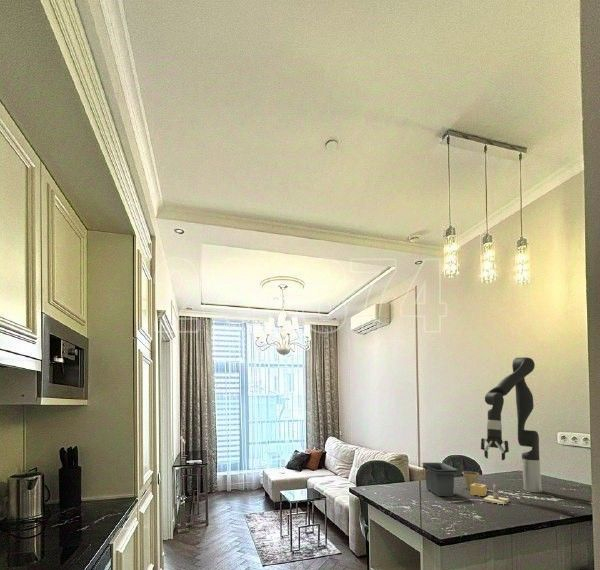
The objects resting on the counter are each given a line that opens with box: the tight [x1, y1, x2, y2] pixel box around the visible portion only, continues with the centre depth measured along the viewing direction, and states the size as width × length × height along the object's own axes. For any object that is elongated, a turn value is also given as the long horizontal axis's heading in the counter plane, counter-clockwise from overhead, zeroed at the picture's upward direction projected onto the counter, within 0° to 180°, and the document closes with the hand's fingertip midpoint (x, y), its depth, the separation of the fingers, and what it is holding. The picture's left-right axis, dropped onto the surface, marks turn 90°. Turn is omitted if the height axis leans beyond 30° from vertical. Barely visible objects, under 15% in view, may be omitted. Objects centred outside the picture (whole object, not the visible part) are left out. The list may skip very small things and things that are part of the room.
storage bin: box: [421, 462, 458, 497], centre depth 266 cm, size 21×16×14 cm
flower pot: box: [462, 471, 480, 490], centre depth 277 cm, size 9×9×9 cm
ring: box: [470, 483, 488, 497], centre depth 263 cm, size 7×7×5 cm
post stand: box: [482, 484, 510, 506], centre depth 249 cm, size 10×10×8 cm
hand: (494, 459), depth 266 cm, fingers open, 8 cm apart
